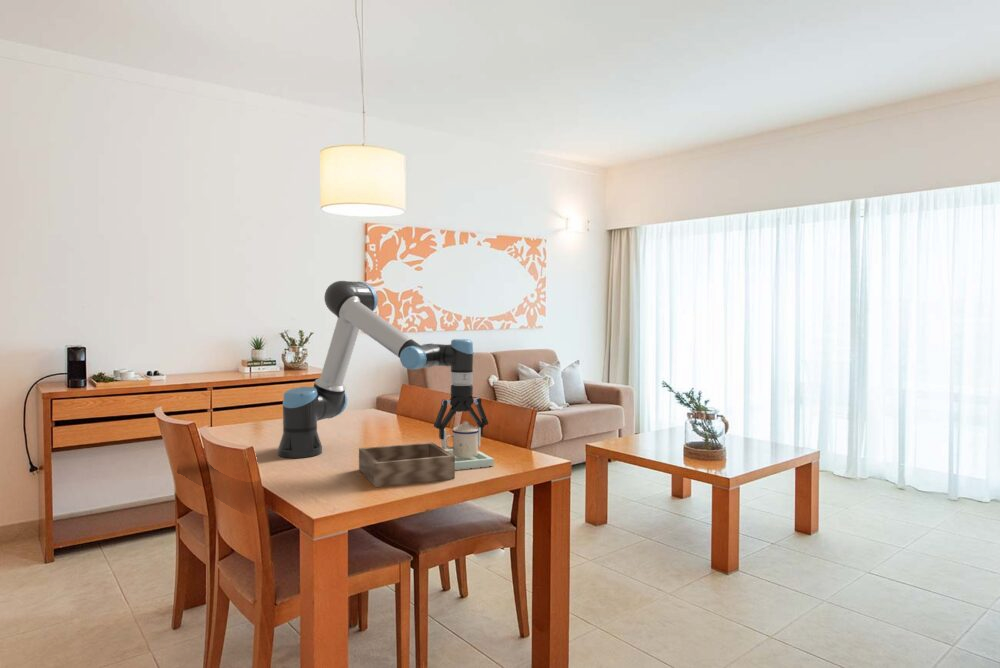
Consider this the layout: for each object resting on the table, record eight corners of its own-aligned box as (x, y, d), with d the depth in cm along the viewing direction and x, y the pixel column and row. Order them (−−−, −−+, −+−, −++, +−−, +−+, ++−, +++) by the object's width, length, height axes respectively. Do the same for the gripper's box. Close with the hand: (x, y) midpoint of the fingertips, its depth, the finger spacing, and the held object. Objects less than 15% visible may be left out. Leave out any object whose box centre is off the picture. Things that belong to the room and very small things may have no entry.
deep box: (374, 487, 186) (374, 463, 186) (358, 469, 206) (358, 448, 206) (454, 478, 196) (454, 456, 196) (432, 462, 216) (432, 442, 216)
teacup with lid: (474, 451, 224) (474, 418, 223) (481, 457, 215) (482, 423, 215) (441, 453, 220) (441, 420, 219) (447, 459, 211) (447, 424, 211)
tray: (448, 470, 206) (448, 463, 206) (430, 458, 223) (430, 451, 223) (493, 466, 212) (493, 458, 212) (472, 454, 230) (472, 447, 230)
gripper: (431, 387, 208) (431, 452, 209) (498, 384, 218) (497, 446, 219) (424, 384, 215) (424, 447, 216) (489, 381, 225) (488, 442, 226)
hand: (461, 447), depth 218 cm, fingers closed on teacup with lid, 12 cm apart
